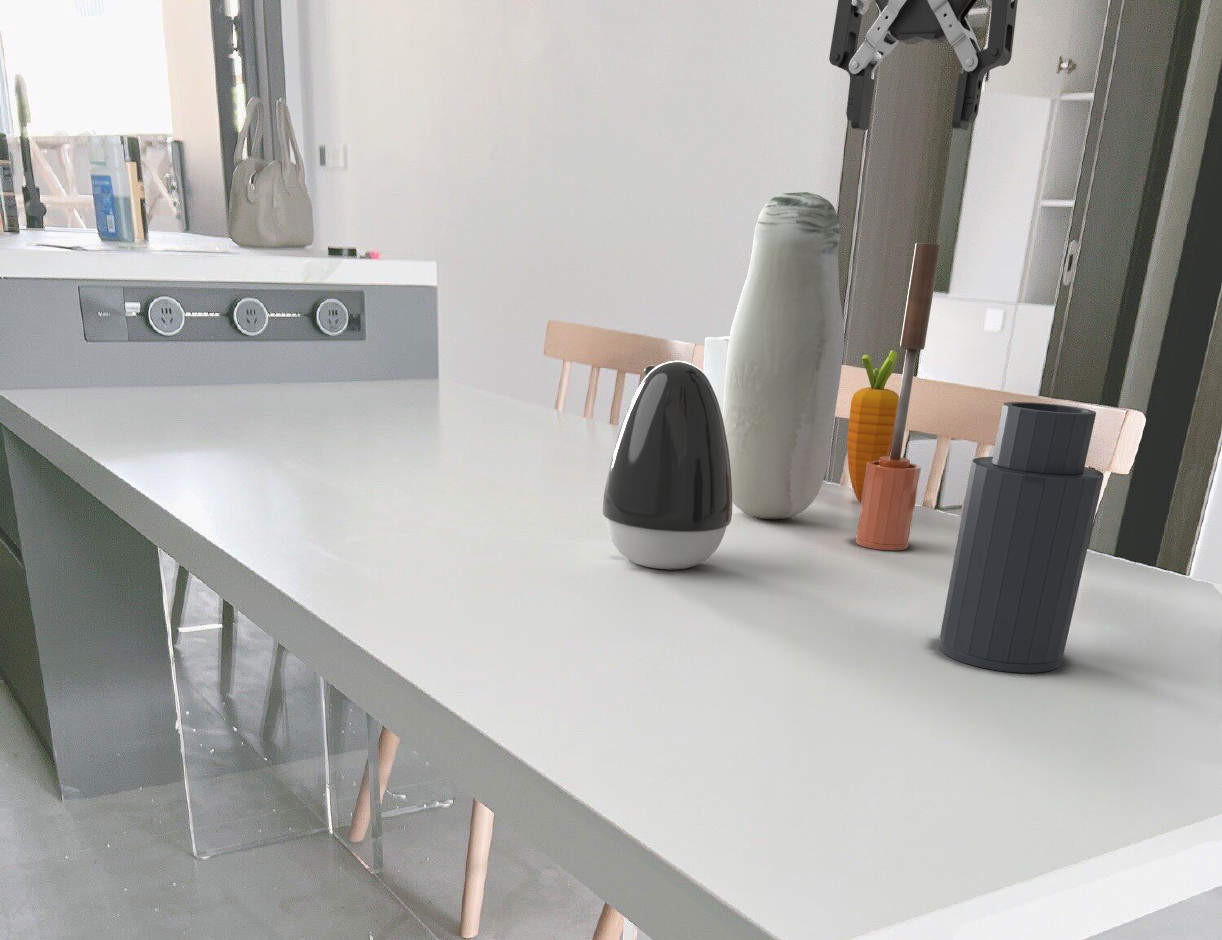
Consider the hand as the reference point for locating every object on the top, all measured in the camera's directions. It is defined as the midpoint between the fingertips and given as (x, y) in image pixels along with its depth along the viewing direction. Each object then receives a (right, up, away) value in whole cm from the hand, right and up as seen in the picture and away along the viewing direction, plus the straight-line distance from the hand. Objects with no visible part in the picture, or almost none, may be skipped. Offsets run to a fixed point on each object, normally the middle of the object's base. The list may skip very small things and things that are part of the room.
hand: (908, 129), depth 99 cm
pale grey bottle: (-9, -27, +19) cm, 34 cm away
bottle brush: (0, -31, +10) cm, 33 cm away
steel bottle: (+1, -45, -19) cm, 49 cm away
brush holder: (0, -31, +10) cm, 33 cm away
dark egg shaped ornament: (-20, -36, -1) cm, 41 cm away
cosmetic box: (-10, -18, +38) cm, 44 cm away
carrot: (+2, -23, +29) cm, 37 cm away
